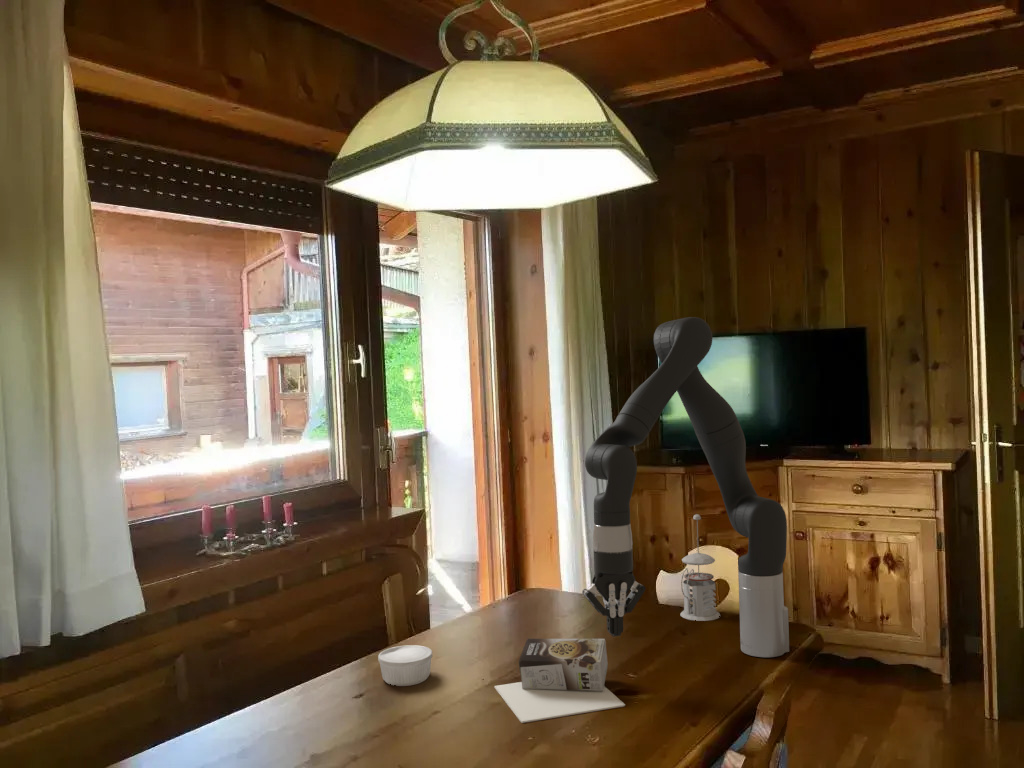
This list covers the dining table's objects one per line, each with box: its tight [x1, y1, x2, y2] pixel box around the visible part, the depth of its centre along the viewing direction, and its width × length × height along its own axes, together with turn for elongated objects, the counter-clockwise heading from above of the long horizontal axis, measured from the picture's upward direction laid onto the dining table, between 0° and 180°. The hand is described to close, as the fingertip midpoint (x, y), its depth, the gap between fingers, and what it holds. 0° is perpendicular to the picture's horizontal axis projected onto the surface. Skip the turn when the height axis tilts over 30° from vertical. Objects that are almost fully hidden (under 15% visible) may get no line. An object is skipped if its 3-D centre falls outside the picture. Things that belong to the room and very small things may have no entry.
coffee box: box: [518, 638, 609, 691], centre depth 169 cm, size 9×6×16 cm
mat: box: [493, 681, 626, 724], centre depth 164 cm, size 20×18×1 cm
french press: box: [680, 513, 721, 622], centre depth 211 cm, size 10×12×25 cm
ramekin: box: [377, 644, 433, 687], centre depth 176 cm, size 11×11×5 cm
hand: (615, 635), depth 167 cm, fingers closed
